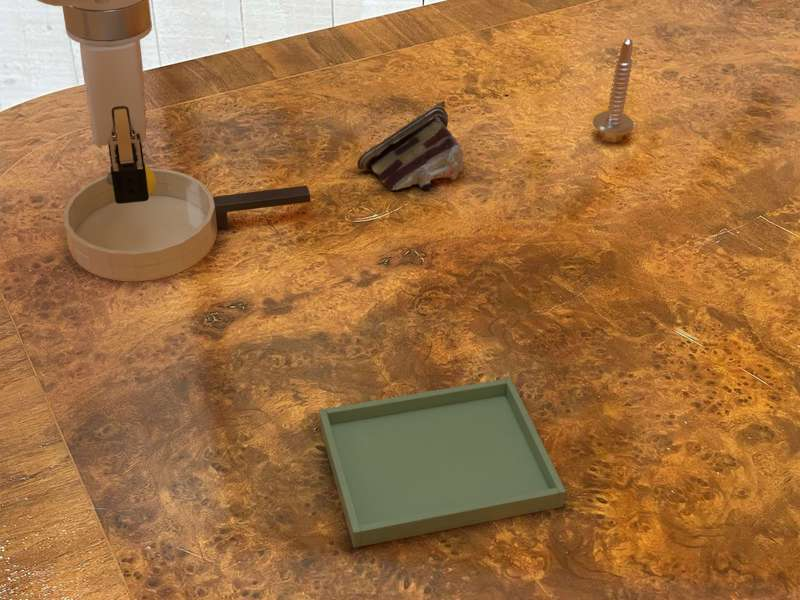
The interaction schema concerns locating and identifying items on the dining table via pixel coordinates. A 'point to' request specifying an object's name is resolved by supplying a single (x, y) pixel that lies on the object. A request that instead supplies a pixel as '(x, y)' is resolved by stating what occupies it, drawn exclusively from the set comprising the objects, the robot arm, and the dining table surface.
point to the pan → (141, 228)
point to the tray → (437, 461)
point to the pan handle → (257, 201)
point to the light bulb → (149, 176)
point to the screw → (617, 100)
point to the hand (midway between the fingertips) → (130, 184)
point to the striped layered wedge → (416, 153)
